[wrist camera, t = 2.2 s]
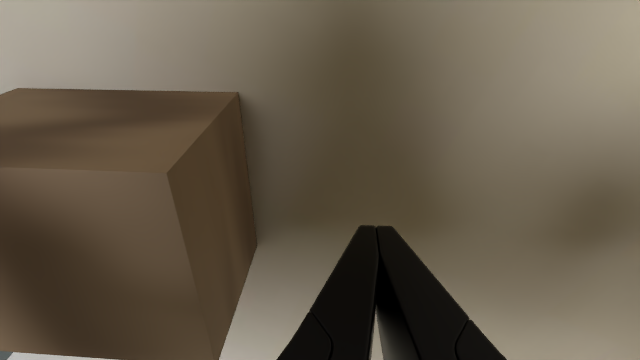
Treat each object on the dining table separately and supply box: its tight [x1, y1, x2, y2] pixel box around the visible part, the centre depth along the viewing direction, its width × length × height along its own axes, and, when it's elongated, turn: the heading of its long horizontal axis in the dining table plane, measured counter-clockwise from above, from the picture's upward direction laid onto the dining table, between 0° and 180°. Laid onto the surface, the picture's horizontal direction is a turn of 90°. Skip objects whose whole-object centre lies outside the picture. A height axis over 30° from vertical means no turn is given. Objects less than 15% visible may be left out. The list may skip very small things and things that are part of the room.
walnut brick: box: [0, 88, 257, 360], centre depth 11 cm, size 7×6×5 cm
